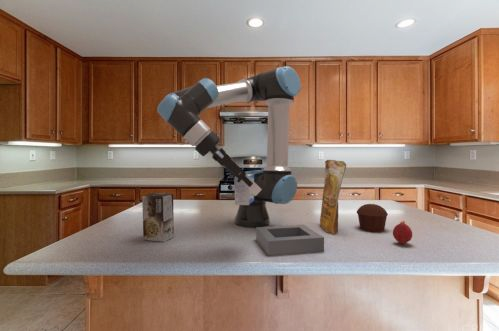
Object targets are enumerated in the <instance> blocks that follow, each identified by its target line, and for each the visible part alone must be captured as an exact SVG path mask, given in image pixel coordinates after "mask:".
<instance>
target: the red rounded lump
mask: <svg viewBox="0 0 499 331" xmlns="http://www.w3.org/2000/svg"><path fill="white" fill-rule="evenodd" d="M392 236H393V238H394V239H395V241H396V242H398V243H399V244H400V245H405V244H407V243H408V242H410V241H411V240H412V238H413V231H412V228H411V227H410V226H409V225H407V224H406V222H405V220H401V221H400V222H399V223H398V224H396V225H395V226H394V227H393V229H392Z"/></svg>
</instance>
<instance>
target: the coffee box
mask: <svg viewBox="0 0 499 331" xmlns="http://www.w3.org/2000/svg"><path fill="white" fill-rule="evenodd" d="M141 198H142V199H141V200H142V201H141V202H142V203H141V204H142V227H143V228H142V231H143V233H142V235H143V240H144V241H152V242H153V241H154V242H162V243H165V242H167V241H169V240H171V239H174V238H175V230H174V229H175V227H174V226H175V225H174V218H175V217H174V213H175V212H174V193H163V192H152V193H148V194H144V195H142V196H141Z"/></svg>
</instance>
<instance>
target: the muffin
mask: <svg viewBox="0 0 499 331" xmlns="http://www.w3.org/2000/svg"><path fill="white" fill-rule="evenodd" d="M356 214H357V218H358V223H359V224H358V225H359V229H360V230H362V231H364V230H365V232H368V231H369V232H368V233H371V232H372V233H382V232H384V231H385V228H386V222H387V216H388V215H389V213H388V212H387V210H386V209H385V208H384V207H382V206H381V205H379V204H375V203H366V204H363V205H361V206H360V207H359V208H358V209H357V211H356Z"/></svg>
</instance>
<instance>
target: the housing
mask: <svg viewBox="0 0 499 331" xmlns="http://www.w3.org/2000/svg"><path fill="white" fill-rule="evenodd" d="M255 241H256V242H257V243H258V245H259V246H260V247H261V249H262V250H263V251H264V252H265V254H266V255H267V256H268V257H273V256H275V257H276V256H277V257H278V256H288V255H300V254H311V253H315V254H316V253H324V252H325V237H324V236H323V235H321V234H319V233H318V232H316V231H315V230H313V229H312V228H310V227H309V226H307V225H305V224H294V225H292V224H291V225H277V226H276V225H275V226H260V227H255Z"/></svg>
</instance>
